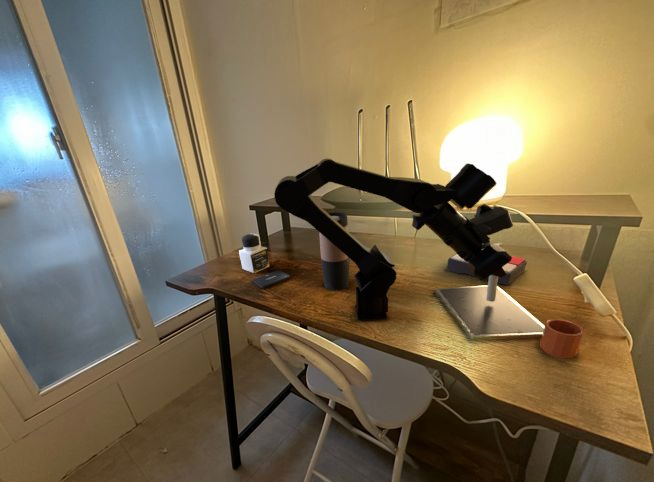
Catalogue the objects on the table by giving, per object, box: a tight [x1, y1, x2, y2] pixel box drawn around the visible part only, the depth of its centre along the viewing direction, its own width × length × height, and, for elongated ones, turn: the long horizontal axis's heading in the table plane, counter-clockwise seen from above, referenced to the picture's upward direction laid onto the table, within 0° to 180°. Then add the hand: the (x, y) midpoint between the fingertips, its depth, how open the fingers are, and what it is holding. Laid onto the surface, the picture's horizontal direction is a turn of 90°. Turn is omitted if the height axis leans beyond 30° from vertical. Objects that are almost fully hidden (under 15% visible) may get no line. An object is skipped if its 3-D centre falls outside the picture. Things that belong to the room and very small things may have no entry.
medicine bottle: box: [238, 233, 270, 274], centre depth 104 cm, size 7×7×12 cm
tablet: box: [434, 284, 545, 341], centre depth 66 cm, size 14×20×1 cm
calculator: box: [446, 253, 528, 286], centre depth 82 cm, size 11×4×15 cm
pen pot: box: [539, 318, 586, 359], centre depth 52 cm, size 5×5×5 cm
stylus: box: [486, 242, 503, 302], centre depth 64 cm, size 2×2×13 cm
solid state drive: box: [252, 269, 291, 289], centre depth 95 cm, size 7×10×1 cm
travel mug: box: [318, 212, 350, 291], centre depth 83 cm, size 8×8×20 cm
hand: (501, 273), depth 63 cm, fingers closed on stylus, 1 cm apart
